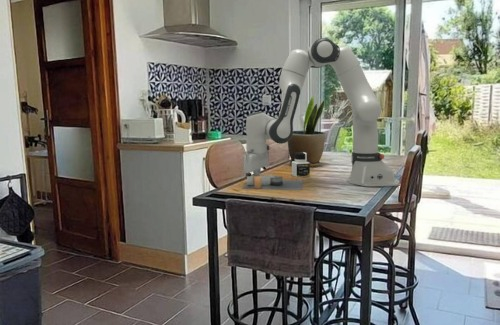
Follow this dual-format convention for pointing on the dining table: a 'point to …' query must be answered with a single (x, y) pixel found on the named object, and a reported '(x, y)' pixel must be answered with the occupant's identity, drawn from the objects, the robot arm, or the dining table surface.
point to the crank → (265, 179)
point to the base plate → (285, 186)
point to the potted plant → (309, 137)
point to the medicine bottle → (300, 165)
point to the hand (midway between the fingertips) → (256, 178)
